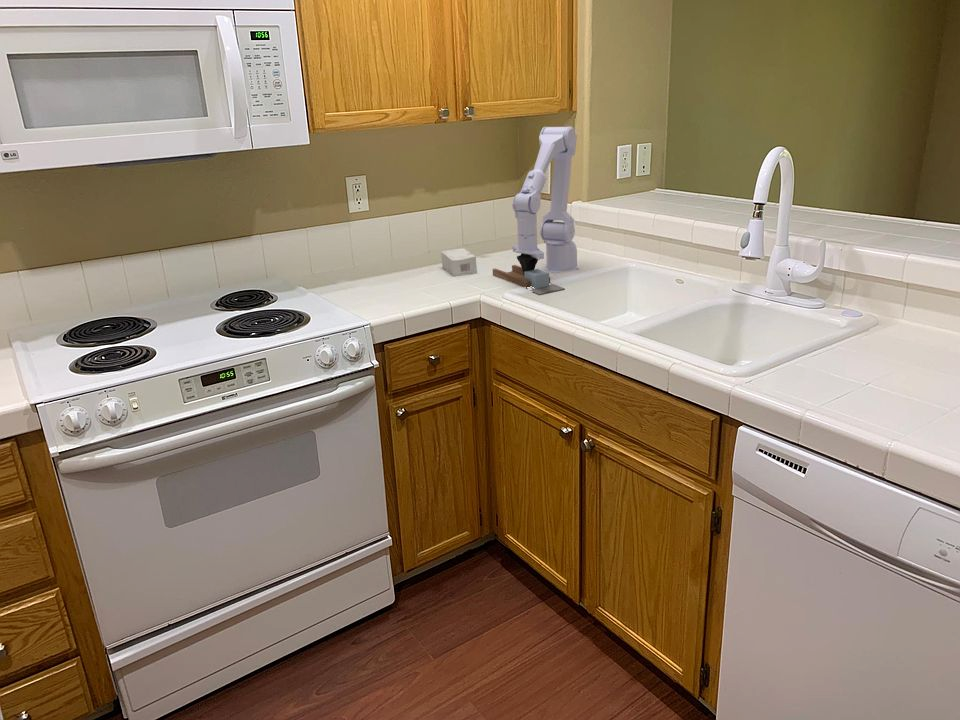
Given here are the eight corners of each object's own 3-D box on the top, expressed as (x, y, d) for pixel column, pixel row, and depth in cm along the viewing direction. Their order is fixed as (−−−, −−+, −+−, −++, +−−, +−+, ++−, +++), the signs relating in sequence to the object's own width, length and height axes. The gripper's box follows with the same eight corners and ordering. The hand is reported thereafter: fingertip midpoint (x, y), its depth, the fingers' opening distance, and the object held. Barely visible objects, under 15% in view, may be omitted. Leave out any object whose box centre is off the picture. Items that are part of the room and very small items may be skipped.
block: (538, 281, 221) (537, 268, 219) (549, 285, 216) (548, 272, 214) (524, 284, 218) (524, 271, 217) (535, 288, 214) (535, 275, 212)
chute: (516, 271, 235) (515, 264, 234) (564, 289, 213) (564, 281, 212) (492, 276, 231) (491, 269, 230) (539, 295, 209) (538, 287, 208)
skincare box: (452, 260, 230) (439, 250, 243) (454, 278, 232) (441, 267, 245) (477, 256, 232) (463, 246, 245) (478, 274, 235) (464, 263, 248)
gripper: (503, 232, 220) (505, 276, 225) (529, 239, 208) (530, 285, 213) (523, 229, 223) (524, 272, 228) (549, 236, 211) (550, 281, 216)
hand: (528, 278), depth 220 cm, fingers closed
